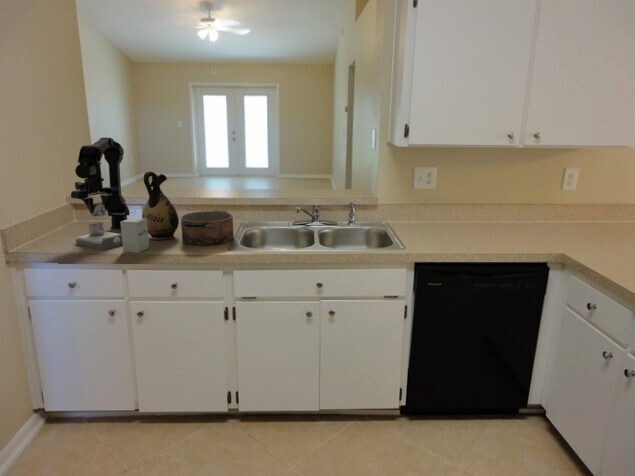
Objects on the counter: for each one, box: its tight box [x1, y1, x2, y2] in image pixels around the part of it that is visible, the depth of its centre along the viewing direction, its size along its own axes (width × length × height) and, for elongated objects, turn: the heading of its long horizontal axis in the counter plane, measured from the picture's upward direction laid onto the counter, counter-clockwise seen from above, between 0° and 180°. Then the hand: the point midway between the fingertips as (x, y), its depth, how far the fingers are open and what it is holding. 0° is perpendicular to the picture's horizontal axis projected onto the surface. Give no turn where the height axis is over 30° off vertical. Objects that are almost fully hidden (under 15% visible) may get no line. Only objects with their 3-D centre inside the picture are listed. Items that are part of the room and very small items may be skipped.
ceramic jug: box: [141, 171, 180, 241], centre depth 185 cm, size 17×15×30 cm
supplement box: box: [120, 217, 150, 254], centre depth 169 cm, size 7×7×13 cm
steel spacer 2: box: [88, 221, 105, 236], centre depth 181 cm, size 6×6×5 cm
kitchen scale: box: [75, 230, 123, 251], centre depth 179 cm, size 14×17×4 cm
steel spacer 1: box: [90, 201, 106, 217], centre depth 180 cm, size 6×6×5 cm
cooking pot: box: [180, 210, 235, 247], centre depth 187 cm, size 30×22×11 cm
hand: (98, 212), depth 181 cm, fingers closed on steel spacer 1, 5 cm apart
